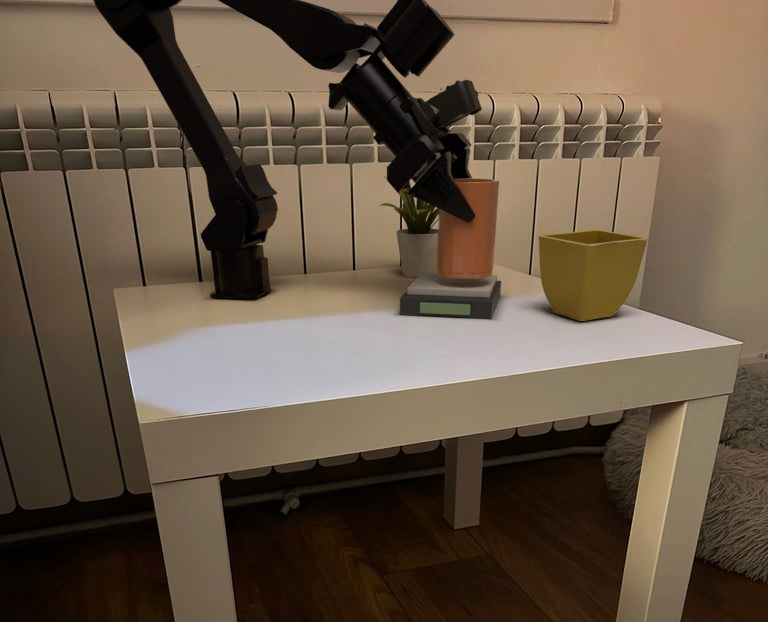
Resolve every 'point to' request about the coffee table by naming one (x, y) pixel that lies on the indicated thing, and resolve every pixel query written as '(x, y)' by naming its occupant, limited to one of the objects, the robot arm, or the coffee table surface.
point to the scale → (451, 297)
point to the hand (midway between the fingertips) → (478, 216)
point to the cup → (469, 233)
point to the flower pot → (589, 271)
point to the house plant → (417, 236)
